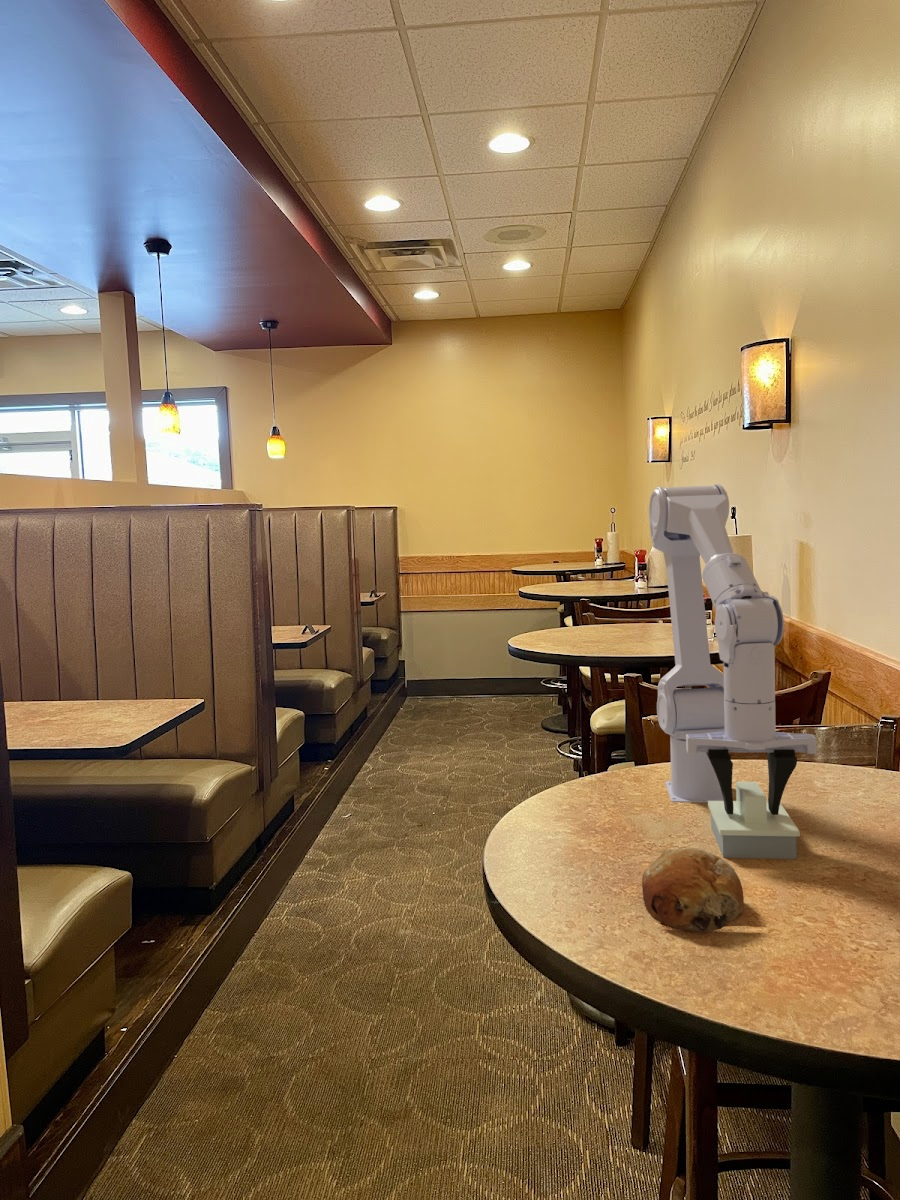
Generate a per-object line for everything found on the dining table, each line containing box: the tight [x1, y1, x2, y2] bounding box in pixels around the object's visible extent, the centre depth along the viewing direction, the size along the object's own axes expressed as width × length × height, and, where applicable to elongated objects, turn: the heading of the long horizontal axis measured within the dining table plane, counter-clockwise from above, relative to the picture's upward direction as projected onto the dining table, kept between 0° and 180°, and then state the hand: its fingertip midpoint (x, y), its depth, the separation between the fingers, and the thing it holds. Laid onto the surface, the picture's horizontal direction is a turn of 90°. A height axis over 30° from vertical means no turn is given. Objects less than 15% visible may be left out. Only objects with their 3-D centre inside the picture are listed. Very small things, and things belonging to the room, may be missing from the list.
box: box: [710, 813, 798, 860], centre depth 102 cm, size 10×8×3 cm
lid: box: [707, 780, 801, 837], centre depth 101 cm, size 11×9×5 cm
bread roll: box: [641, 847, 745, 933], centre depth 86 cm, size 10×10×8 cm
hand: (751, 811), depth 101 cm, fingers open, 4 cm apart
